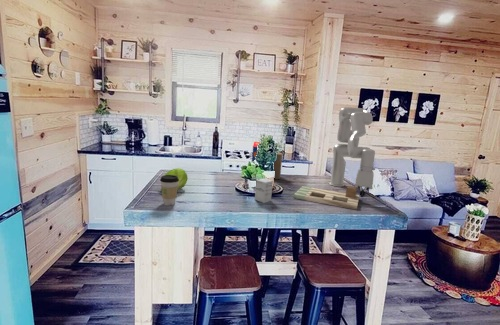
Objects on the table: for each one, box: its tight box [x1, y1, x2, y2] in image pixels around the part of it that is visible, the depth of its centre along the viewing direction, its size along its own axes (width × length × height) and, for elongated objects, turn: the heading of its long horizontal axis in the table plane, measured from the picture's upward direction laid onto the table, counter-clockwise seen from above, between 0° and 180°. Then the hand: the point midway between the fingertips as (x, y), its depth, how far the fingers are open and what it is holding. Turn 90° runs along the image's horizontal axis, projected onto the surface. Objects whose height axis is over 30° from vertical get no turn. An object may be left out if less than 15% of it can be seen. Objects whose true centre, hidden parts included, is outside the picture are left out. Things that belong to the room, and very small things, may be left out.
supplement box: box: [254, 177, 274, 204], centre depth 180 cm, size 7×7×13 cm
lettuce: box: [164, 168, 189, 190], centre depth 190 cm, size 15×20×14 cm
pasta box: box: [251, 141, 260, 162], centre depth 223 cm, size 28×8×28 cm, turn 178°
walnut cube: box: [345, 185, 358, 198], centre depth 194 cm, size 6×6×6 cm
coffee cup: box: [159, 174, 179, 206], centre depth 164 cm, size 10×10×15 cm
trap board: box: [293, 185, 360, 210], centre depth 194 cm, size 24×38×2 cm, turn 67°
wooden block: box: [274, 151, 283, 180], centre depth 239 cm, size 10×10×20 cm
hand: (362, 196), depth 192 cm, fingers closed
